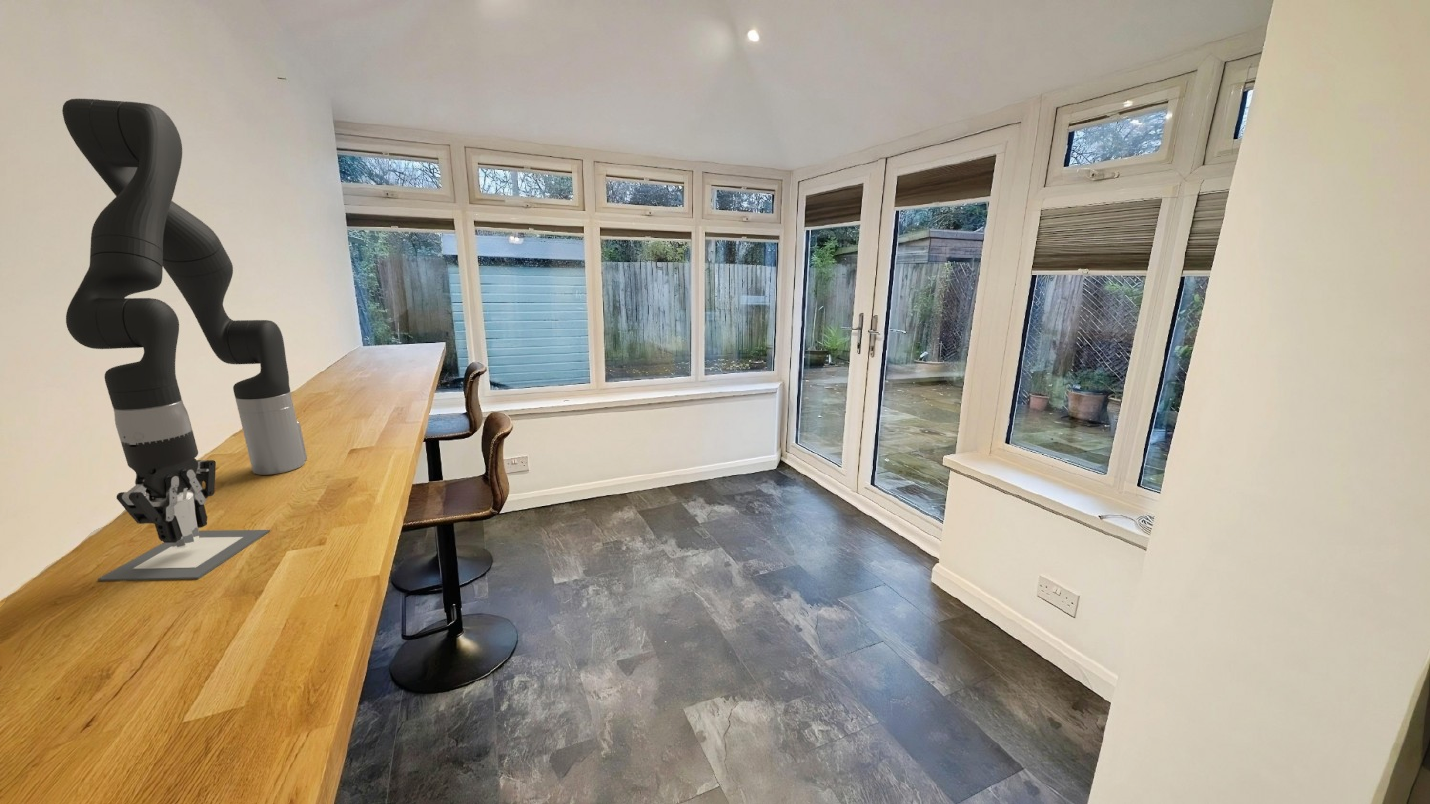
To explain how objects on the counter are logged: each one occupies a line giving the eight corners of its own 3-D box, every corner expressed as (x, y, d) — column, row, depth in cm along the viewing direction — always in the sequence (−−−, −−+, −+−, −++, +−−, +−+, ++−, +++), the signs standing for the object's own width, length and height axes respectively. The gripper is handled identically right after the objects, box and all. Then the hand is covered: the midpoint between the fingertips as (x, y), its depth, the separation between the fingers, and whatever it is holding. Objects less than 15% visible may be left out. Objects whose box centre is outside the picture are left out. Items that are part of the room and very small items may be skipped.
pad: (185, 532, 90) (184, 530, 90) (270, 531, 91) (269, 529, 91) (97, 580, 76) (97, 578, 76) (198, 579, 77) (198, 576, 77)
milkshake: (185, 553, 80) (167, 494, 78) (158, 548, 81) (140, 490, 79) (217, 538, 85) (202, 482, 82) (191, 534, 86) (175, 478, 83)
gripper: (174, 418, 85) (200, 513, 89) (77, 449, 71) (113, 559, 75) (223, 418, 85) (246, 512, 90) (135, 449, 71) (168, 558, 76)
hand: (185, 533), depth 83 cm, fingers closed on milkshake, 4 cm apart
